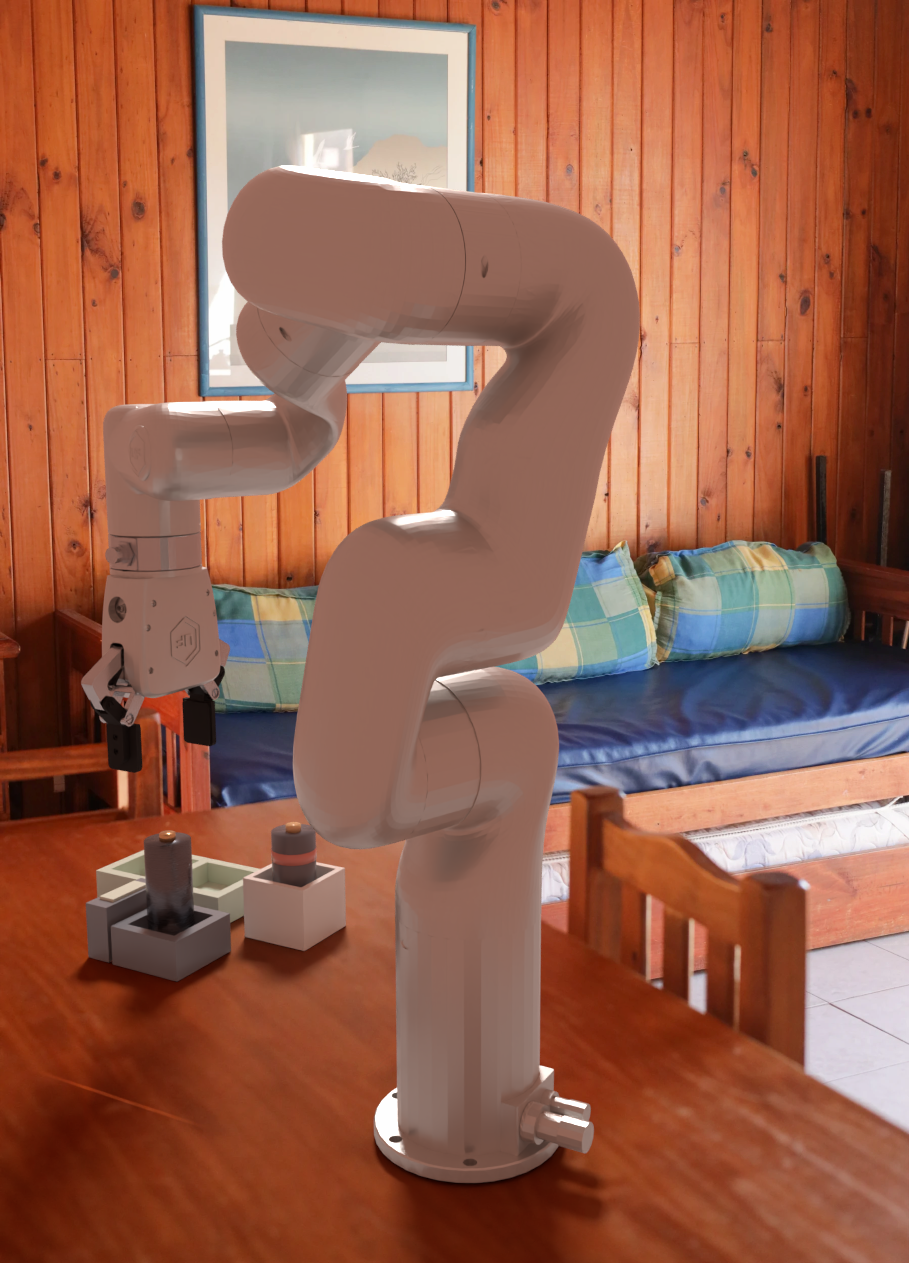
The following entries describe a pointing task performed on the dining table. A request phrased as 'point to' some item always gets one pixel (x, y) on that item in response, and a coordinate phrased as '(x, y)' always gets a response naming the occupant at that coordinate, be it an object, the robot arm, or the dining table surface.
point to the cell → (169, 882)
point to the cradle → (152, 935)
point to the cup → (294, 892)
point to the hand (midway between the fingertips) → (164, 756)
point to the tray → (211, 881)
